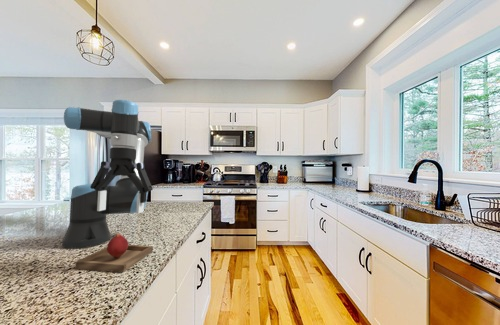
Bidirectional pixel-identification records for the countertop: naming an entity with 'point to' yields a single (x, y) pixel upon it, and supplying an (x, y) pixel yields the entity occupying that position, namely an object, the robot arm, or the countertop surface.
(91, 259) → the tray
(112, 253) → the red fruit
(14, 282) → the countertop surface
